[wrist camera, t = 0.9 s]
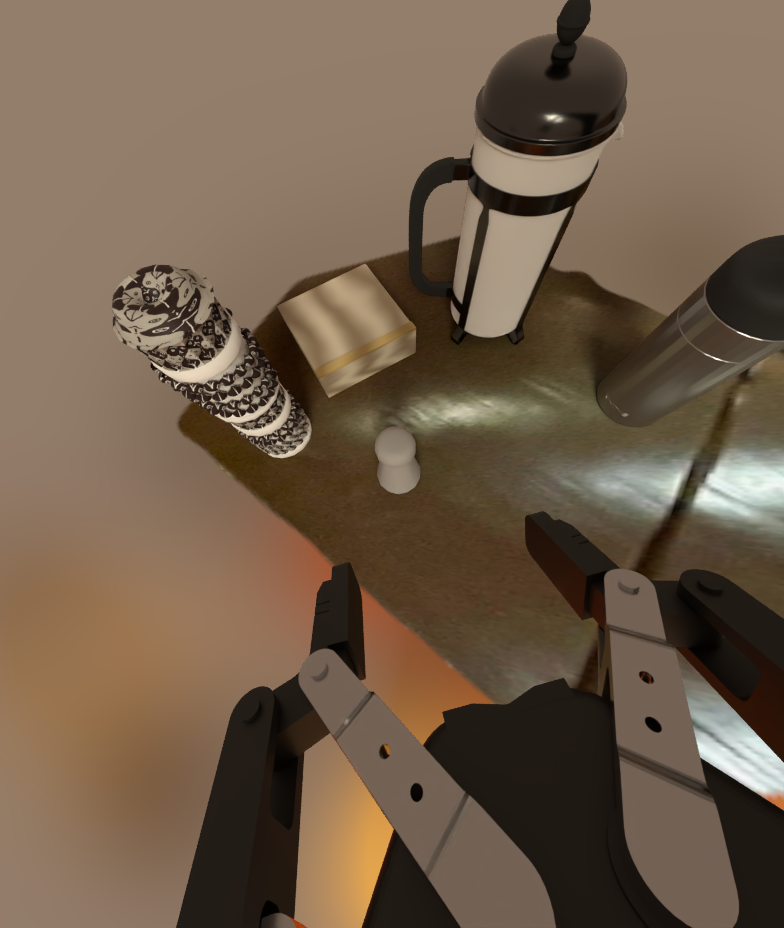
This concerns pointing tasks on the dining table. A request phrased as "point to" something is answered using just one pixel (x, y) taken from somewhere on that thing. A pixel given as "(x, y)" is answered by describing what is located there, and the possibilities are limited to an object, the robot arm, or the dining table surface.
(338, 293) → the wood block
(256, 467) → the dining table surface
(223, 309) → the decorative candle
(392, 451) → the salt shaker
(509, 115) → the coffee press
